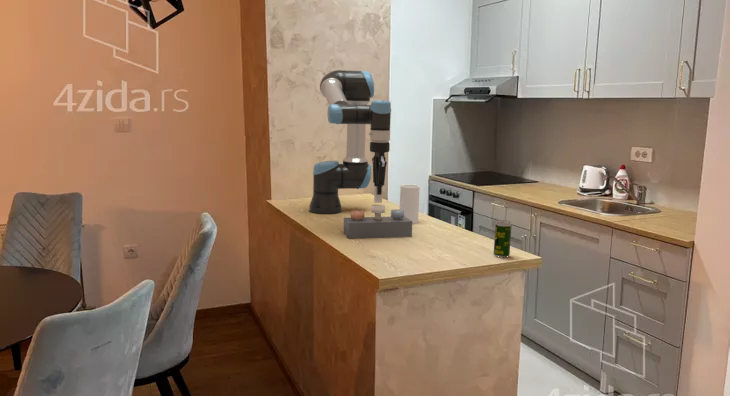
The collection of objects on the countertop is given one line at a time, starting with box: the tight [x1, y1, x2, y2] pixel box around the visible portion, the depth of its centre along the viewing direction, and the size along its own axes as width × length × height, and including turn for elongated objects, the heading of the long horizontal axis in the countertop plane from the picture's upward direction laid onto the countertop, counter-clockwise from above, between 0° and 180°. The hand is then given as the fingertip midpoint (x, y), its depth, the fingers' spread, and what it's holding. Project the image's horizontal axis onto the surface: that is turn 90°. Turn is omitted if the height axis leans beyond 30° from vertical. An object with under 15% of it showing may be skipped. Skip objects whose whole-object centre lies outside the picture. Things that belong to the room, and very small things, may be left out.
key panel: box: [343, 216, 413, 240], centre depth 218 cm, size 10×25×6 cm, turn 103°
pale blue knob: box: [390, 208, 404, 220], centre depth 219 cm, size 5×5×7 cm
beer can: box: [493, 219, 512, 258], centre depth 190 cm, size 5×5×12 cm
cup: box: [399, 183, 420, 225], centre depth 241 cm, size 8×8×16 cm
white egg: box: [370, 204, 386, 220], centre depth 217 cm, size 5×5×7 cm
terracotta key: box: [350, 209, 366, 221], centre depth 215 cm, size 5×5×7 cm
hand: (378, 202), depth 216 cm, fingers closed
